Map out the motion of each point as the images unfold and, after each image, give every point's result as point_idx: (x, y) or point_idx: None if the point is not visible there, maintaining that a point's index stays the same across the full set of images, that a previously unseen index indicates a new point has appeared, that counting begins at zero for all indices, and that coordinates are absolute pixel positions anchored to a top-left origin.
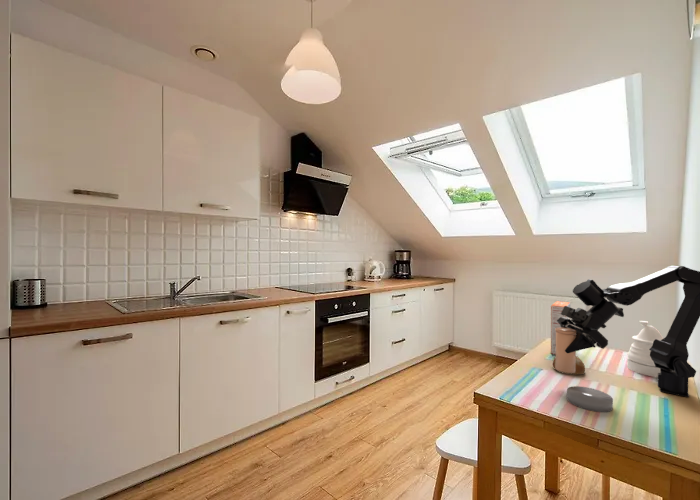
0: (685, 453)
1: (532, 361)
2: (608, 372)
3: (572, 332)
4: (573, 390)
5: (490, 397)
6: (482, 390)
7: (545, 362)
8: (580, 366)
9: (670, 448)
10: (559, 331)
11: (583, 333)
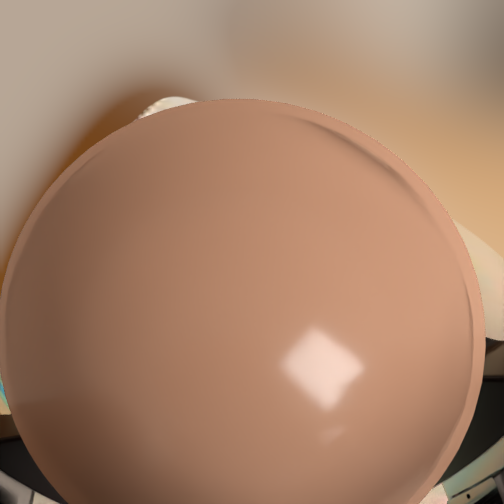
0: (2, 408)
1: (492, 279)
2: (441, 498)
3: (8, 390)
4: None
5: (140, 114)
6: (178, 99)
7: (497, 323)
8: None
9: (5, 397)
10: (97, 163)
11: (3, 499)
